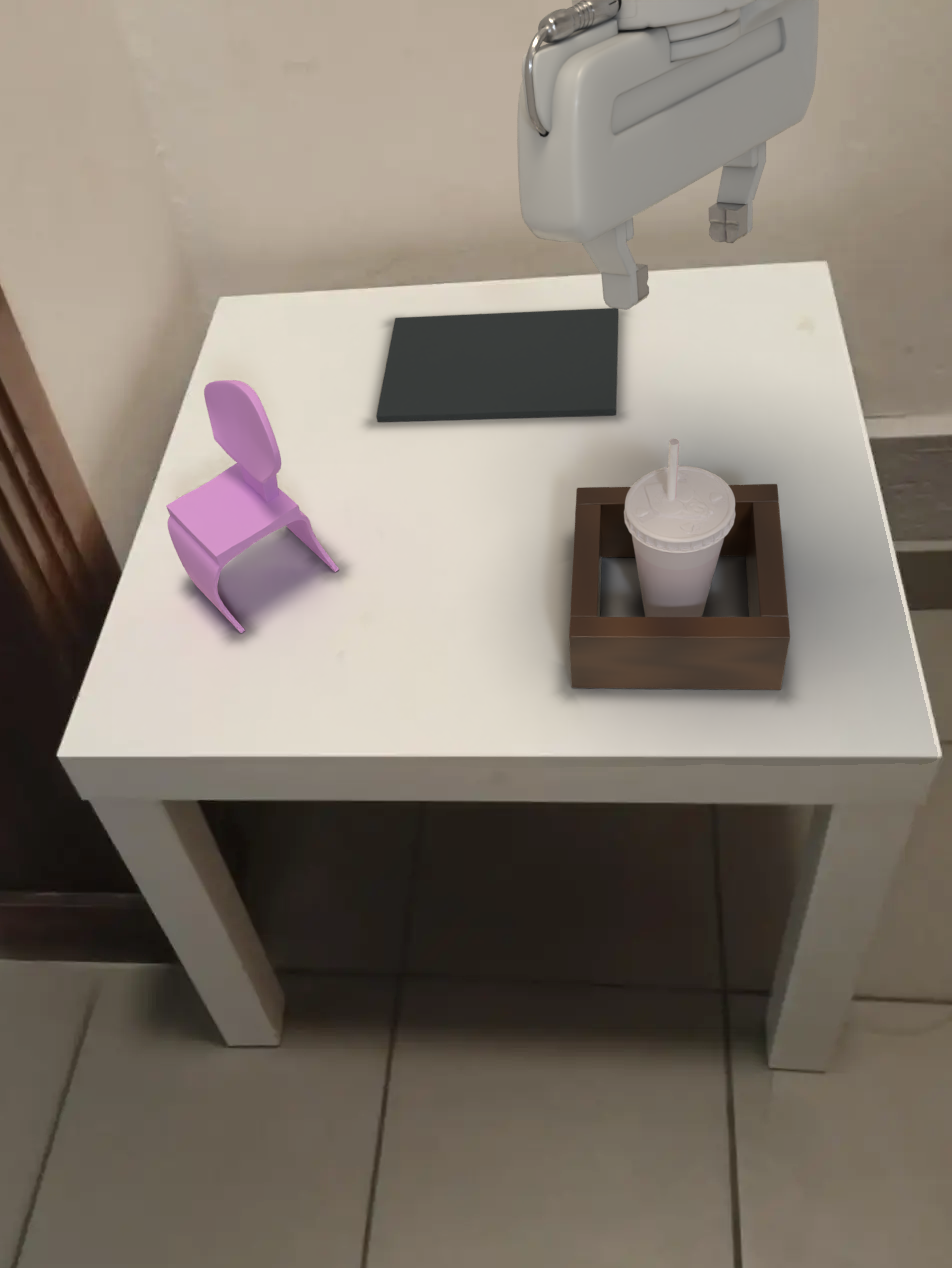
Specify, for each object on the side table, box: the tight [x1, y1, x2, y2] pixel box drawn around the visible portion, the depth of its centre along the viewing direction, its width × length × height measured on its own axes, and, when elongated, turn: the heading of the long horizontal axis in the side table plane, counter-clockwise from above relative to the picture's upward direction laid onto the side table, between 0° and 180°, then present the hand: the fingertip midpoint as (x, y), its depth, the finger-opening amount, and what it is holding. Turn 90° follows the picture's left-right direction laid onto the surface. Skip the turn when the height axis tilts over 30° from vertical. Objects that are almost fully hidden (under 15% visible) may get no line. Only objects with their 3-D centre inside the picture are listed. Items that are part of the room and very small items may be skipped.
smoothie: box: [624, 437, 736, 617], centre depth 73 cm, size 6×6×14 cm
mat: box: [375, 307, 619, 423], centre depth 95 cm, size 18×12×1 cm, turn 84°
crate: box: [568, 483, 791, 691], centre depth 77 cm, size 13×13×5 cm
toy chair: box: [165, 379, 340, 634], centre depth 79 cm, size 8×9×15 cm
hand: (680, 269), depth 64 cm, fingers open, 8 cm apart
